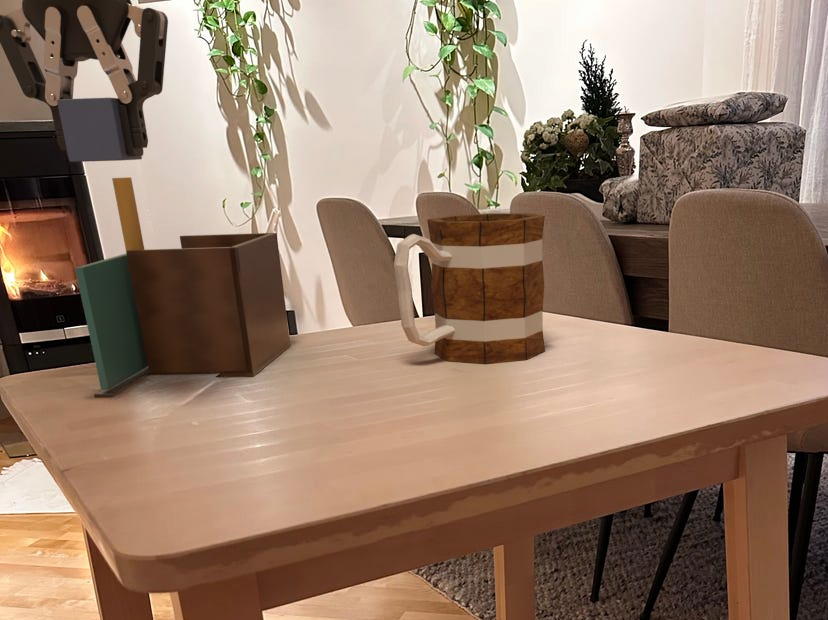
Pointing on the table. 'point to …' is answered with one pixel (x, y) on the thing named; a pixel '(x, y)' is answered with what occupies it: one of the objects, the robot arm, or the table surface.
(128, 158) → the block
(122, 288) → the sliding door
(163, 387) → the table surface
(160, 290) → the cubby
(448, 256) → the mug
